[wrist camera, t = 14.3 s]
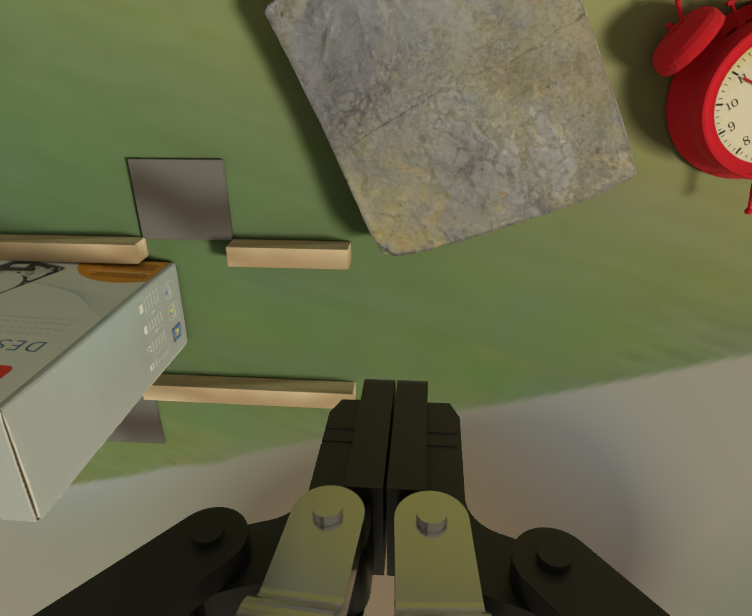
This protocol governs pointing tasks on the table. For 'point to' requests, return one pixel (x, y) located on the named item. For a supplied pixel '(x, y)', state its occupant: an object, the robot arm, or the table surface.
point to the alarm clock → (710, 89)
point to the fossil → (457, 110)
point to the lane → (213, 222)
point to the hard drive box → (75, 366)
